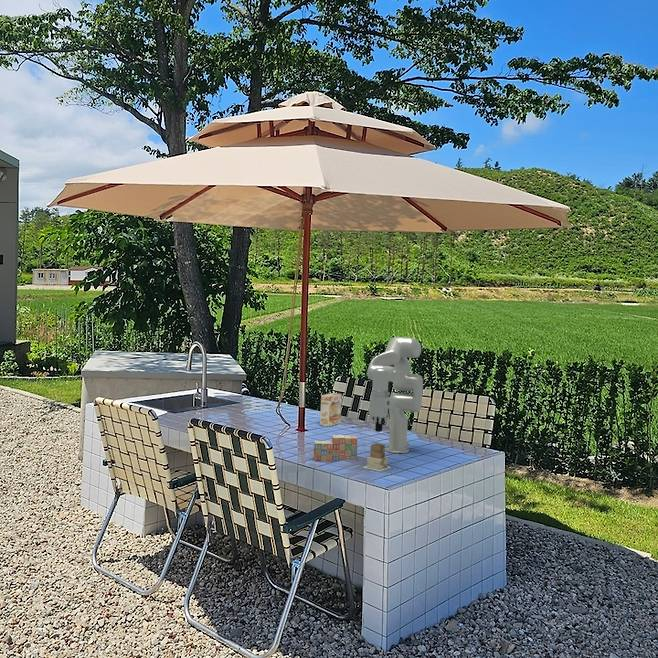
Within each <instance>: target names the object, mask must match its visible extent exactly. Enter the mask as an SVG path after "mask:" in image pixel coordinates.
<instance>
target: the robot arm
mask: <svg viewBox="0 0 658 658" xmlns="http://www.w3.org/2000/svg"><path fill="white" fill-rule="evenodd" d="M387 343H388V344H387V346H386V348H385V350H384V352H381V353H380V354H378V355H377V356H375V357H373V358H372V359H371V361H370V362H369V364H368V368H367V371H366V373H367V377H368V379H369V380H371V381H372V393H371V395H370V399H369V404H368V405H369V406H368V415H369V418H370V419H372V420H373V421H374V424H375V432H377V433H380V432H382V430H383V424H384V423H385V422H387V421H389V434H388V435H389V436H388V437H389V439H388V447H385V452H387V453H391V454H399V453H402V454H407V453H410V449H409V448H408V446H410V444H411V442H409V441H407V440H408V424H409V423H408V422H409V421H408V420H409V419H408V416H407V415H406V413H405V412H409V413H410V412H411V413H419V412H420V411H421V408H422V405H423V404H422V403H423V392H424V391H423V389H424V379H423V377H422V376H421V375H420V374H418V373H411V372H410V370H411V369H410V368H411V364H410V361H409V359H408V358H412V359H414V358H419V357H420V355H421V353H422V346H421V343H420V342H419V341H418V340H417V339H415V338H414V337H407V336H406V337H405V336H403V337H402V336H394V337H391V338H390V340H389V341H388V342H387ZM393 365H394V366H393ZM389 382H390V383H391V382H392V385H393V389H395V390H397V391H401V392H394V393H392V394H391V392H389ZM402 391H403V393H402ZM404 392H411V393H404Z"/></svg>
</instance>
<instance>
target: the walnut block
mask: <svg viewBox="0 0 658 658" xmlns="http://www.w3.org/2000/svg"><path fill="white" fill-rule="evenodd" d="M385 454H386V444H382V443H377V442H376V443H373V444H370V457H372V458H377V459H380V458H383V457H386V455H385Z"/></svg>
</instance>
